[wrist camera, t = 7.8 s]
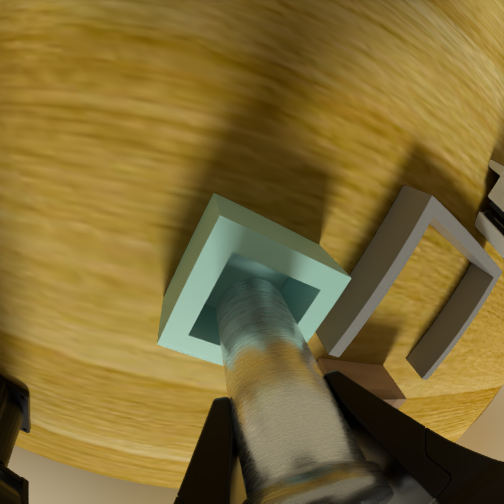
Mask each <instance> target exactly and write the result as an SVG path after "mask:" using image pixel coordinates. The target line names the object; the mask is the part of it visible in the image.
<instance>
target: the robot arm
mask: <svg viewBox="0 0 504 504" xmlns="http://www.w3.org/2000/svg"><path fill="white" fill-rule="evenodd" d="M324 378H325V380H326V382H327V384H328V385H329V387H330V389H331V391H332V393H333V395H334V397H335V399H336V401H337V403H338V405H339V407H340V409H341V411H342V413H343V415H344V417H345V419H346V421H347V423H348V425H349V427H350V429H351V431H352V433H353V435H354V437H355V439H356V441H357V443H358V444H359V446H360V448H361V450H362V452H363V454H364V456H365V458H366V460H368V461H374V462H377V463H378V464H379V466H380V467H381V469H382V471H383V473H384V475H385V477H386V479H387V481H388V483H389V485H390V486H391V488H392V490H393V492H394V496H393V497H392V499H391V500H390V501H389V502H388V503H387V504H504V462H502V461H498V460H495V459H492V458H489V457H487V456H484V455H482V454H479V453H477V452H474V451H472V450H469V449H467V448H465V447H462V446H460V445H458V444H456V443H454V442H452V441H449V440H448V439H446V438H444V437H442V436H440V435H439V434H437V433H435V432H434V431H432V430H430V429H429V428H425V426H423V425H422V424H420V423H419V422H417V421H415V420H414V419H412V418H411V417H409V416H407V415H406V414H404V413H403V412H401V411H399V410H398V409H396V408H395V407H393V406H392V405H390V404H389V403H387V402H385V401H384V400H382V399H381V398H379V397H378V396H376V395H375V394H373V393H372V392H370V391H369V390H367V389H365V388H364V387H362V386H361V385H359V384H358V383H356V382H355V381H353V380H352V379H350V378H349V377H347V376H346V375H345V374H343V373H342V372H340V371H338V370H334V371H331V372H328V373H325V374H324ZM30 429H31V426H30V396H29V394H28V393H27V392H26V391H25V390H23V389H21V388H20V387H18V386H16V385H14V384H12V383H10V382H8V381H7V380H5V379H3V378H1V377H0V504H29V502H28V500H29V499H28V485H29V482H28V481H27V480H26V479H25V478H23V477H20V476H19V475H17V474H15V473H14V472H13V471H11V470H10V469H9V468H7V467H8V463H9V460H10V457H11V454H12V450H13V448H14V445H15V442H16V439H17V436H18V433H19V430H22V431H24V432H26V433H29V432H30ZM177 495H178V497H176V499H175V501H174V504H242V503H243V502H244V501H245V500H246V499H247V496H246V491H245V486H244V481H243V476H242V471H241V466H240V461H239V455H238V450H237V444H236V437H235V431H234V425H233V419H232V413H231V407H230V401H229V398H228V397H222V398H216V399H214V401H213V403H212V405H211V408H210V411H209V413H208V416H207V419H206V421H205V424H204V426H203V429H202V432H201V434H200V437H199V440H198V442H197V445H196V447H195V450H194V453H193V455H192V458H191V460H190V463H189V466H188V468H187V471H186V473H185V476H184V479H183V481H182V484H181V486H180V489H179V491H178V494H177Z"/></svg>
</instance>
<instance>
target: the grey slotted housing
mask: <svg viewBox="0 0 504 504" xmlns="http://www.w3.org/2000/svg"><path fill="white" fill-rule="evenodd" d="M489 167H491V168H492V169H493V170H494V171H495V172H496V173H497V174H499V175H500V178H499V179H498V181H497V182H496V184H495V186H494V187H493V189H492V190H491V192H490V193H489V195H488V197H489V198H490V199H491V202H490V204H489V205H490V206H491V207H493V208H494V209H495V210H496V211H497V212H493V211H489V210H486V211H485V213H483V212H479V213H478V216H477V218H476V222H475V227H476V228H477V229H478V230H479V231H480V232H481V234H482V235H483V236H484V237H485V238H486V239H487V240H488V241H489V242H490V244H491V245H492V246H493V247H494V248H495V249H496V250H497V252H498V253H499V254H500V255H501V256H502V258H503V259H504V166H503V165H501V164H499V163H497V162H495V161H493V160H491V159H490V162H489Z"/></svg>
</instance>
